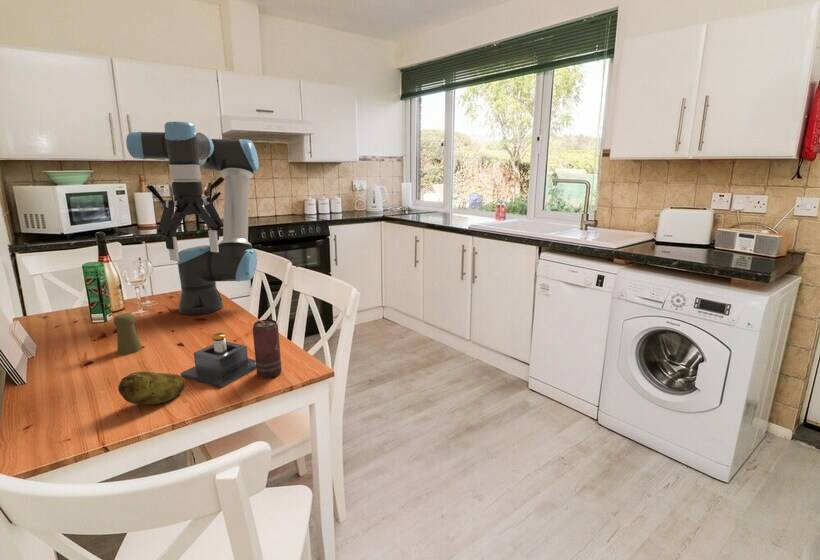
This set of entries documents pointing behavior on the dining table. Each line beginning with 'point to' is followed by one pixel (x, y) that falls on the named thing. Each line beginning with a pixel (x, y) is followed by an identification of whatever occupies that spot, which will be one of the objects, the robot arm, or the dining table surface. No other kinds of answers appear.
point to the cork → (126, 334)
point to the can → (267, 348)
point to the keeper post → (192, 374)
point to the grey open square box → (221, 360)
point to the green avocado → (150, 387)
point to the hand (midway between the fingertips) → (195, 256)
